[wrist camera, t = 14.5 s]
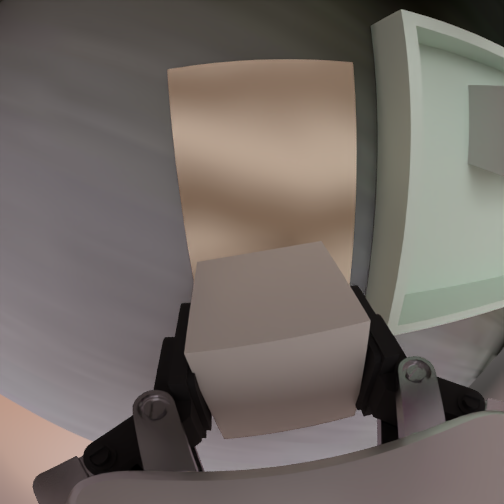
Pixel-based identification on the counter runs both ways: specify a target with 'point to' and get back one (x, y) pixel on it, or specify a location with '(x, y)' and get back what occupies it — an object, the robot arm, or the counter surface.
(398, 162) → the tub
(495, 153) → the stone
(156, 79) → the counter surface
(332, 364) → the stone
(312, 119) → the birch board
